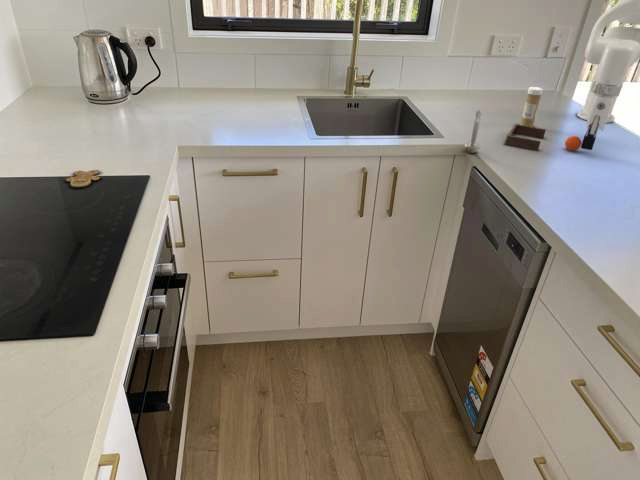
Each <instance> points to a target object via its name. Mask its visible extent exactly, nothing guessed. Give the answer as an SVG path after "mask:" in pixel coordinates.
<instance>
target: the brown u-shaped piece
mask: <svg viewBox="0 0 640 480" xmlns="http://www.w3.org/2000/svg"><path fill="white" fill-rule="evenodd" d="M546 131H547V129H546V128H541V127H534V126H533V127H529V126H524V125H520V124H517V123H514V124H513V126H512V128H511V129H510V131H509V132H508V133H507V135H506V139H505V144H504V145H506V146H510V147H516V148H521V149H527V150H531V151H537V152H538V151H539V148H540V144H541V140H537V139H532V138H526V136H528V137H533V138H538V139H544V138H545V135H546ZM515 134H516V135H521V136H514V135H515ZM522 136H525V137H522Z"/></svg>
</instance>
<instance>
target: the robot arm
mask: <svg viewBox="0 0 640 480" xmlns="http://www.w3.org/2000/svg"><path fill="white" fill-rule="evenodd" d="M616 21H617V22H618V23H621V24H627V25H637V26H639V25H640V0H618V1H617V2H616V3H615V4H614V5H613V6H611V7H610V8H608V9H607V10H606V11H604V12H603V14H602V15H600V17H599V18H598V19H597V20H596V22H595V24H594V25H593V27H592V29H591V33H590V35H589V38H588V42H587V43H586V47H585V51H584V60H585V61H586V62H587V63H589V64H592V65H596V68H595V71H594V74H593V77H592V80H591V84H590V87H589V90H588V93H587V96H586V99H585V102H584V106H583V108H582V109H581V110H578V111H577V112H576V116H577V117H578V118H580V119H582V120H585V121H586V125H585V126H586V131H585V132H586V133H585V134H584V135H583V139H582V141H581V146H580V149H582V150H588V151H592V150H593V148H594V145H595V142H596V139H597V135H598V131H599V130H600V132H604V130H605V128H606V125H607V123H613V122H614V121H615V118H616V117H615V115H613V114H612V113H613V111H614V107H615V104H616V102H617V99H618V98H619V96H620V93H621V91H622V88H623V85H624V83H625V79H626V77H627V73H628V70H629V68H630V67H632V66H634V64H636V63H637V62H638V61H639V60H640V28H639V27H634V26H633V27H631V26H613V27H611V28H609V29H607V30H606V31H605V33H604V34H603V36H602V33H603V31H604V29H605V28H606V27H607V26H609V25H610V24H611V23H613V22H616Z"/></svg>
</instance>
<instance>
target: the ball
mask: <svg viewBox="0 0 640 480" xmlns="http://www.w3.org/2000/svg"><path fill="white" fill-rule="evenodd" d="M564 145H565V146H564V147H565V148H566V149H567V150H568V151H570V152H574V151H577V150H579V149H581V145H582V140H581V138H580V137H578V136H576V135H572V136H569V137H568V138H567V139H566V140H565V142H564Z"/></svg>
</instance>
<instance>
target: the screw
mask: <svg viewBox="0 0 640 480" xmlns="http://www.w3.org/2000/svg"><path fill="white" fill-rule="evenodd" d="M481 115H482V111H481V110H477V111H476V112H475V118H474V121H473V125H472V130H471V135H470V141H467V142H465V143H464V144H463V146H464V148H465V149H466V152H467V154H468V153H469V154H476V151H477V150H479V149H481V145H480V144H479V143H477V139H478V134H479V130H480V124H481Z"/></svg>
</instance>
